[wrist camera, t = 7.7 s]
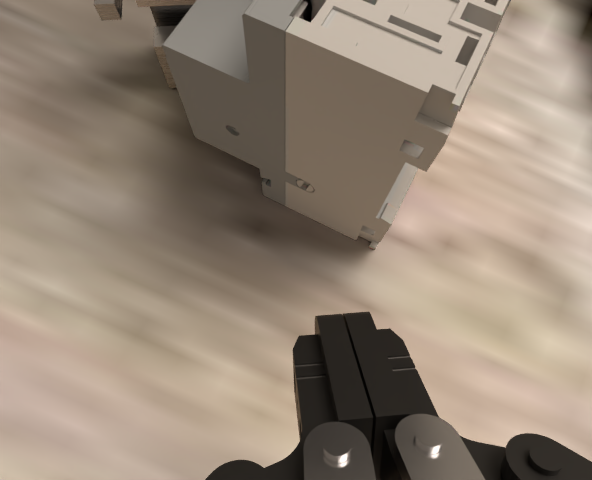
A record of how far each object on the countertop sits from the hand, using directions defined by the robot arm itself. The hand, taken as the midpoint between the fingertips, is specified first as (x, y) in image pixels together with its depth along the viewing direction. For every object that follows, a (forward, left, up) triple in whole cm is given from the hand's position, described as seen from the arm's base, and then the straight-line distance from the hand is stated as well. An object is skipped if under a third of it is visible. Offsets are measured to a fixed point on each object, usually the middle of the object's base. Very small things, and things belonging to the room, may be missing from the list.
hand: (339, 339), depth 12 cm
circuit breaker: (+1, +14, -14) cm, 20 cm away
